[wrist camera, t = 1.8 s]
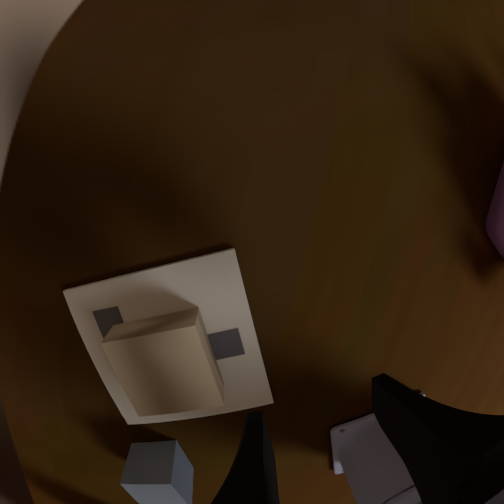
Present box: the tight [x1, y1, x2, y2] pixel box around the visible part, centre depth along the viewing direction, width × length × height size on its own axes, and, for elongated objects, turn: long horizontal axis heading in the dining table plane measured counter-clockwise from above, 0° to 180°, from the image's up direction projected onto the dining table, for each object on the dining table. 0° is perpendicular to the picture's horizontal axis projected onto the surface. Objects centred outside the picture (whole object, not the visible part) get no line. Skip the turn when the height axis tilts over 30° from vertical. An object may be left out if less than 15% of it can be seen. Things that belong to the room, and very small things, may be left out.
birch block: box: [101, 307, 224, 417], centre depth 18 cm, size 6×6×2 cm
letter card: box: [63, 248, 274, 425], centre depth 19 cm, size 12×12×1 cm
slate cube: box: [120, 440, 194, 504], centre depth 20 cm, size 4×4×5 cm
